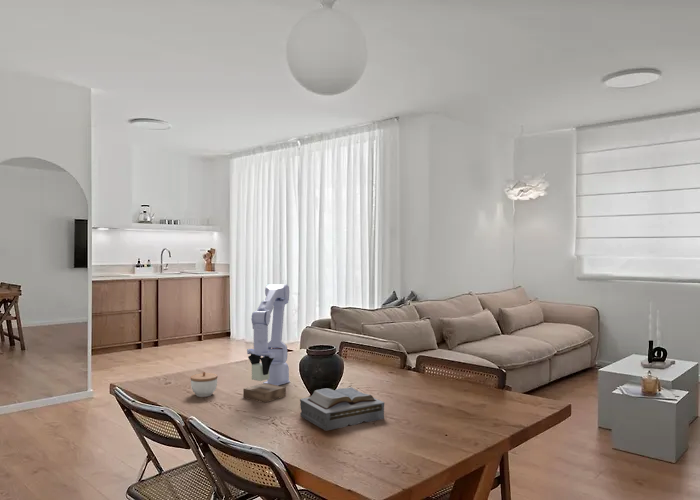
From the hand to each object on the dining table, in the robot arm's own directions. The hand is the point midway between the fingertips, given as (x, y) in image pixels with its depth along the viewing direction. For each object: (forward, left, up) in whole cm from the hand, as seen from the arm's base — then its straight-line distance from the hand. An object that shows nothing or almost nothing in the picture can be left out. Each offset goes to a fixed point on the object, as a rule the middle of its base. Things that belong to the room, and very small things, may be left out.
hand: (260, 373), depth 226 cm
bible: (+2, +44, -10) cm, 45 cm away
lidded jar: (+13, -20, -9) cm, 25 cm away
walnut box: (0, +2, -10) cm, 10 cm away
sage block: (0, 0, -2) cm, 2 cm away
